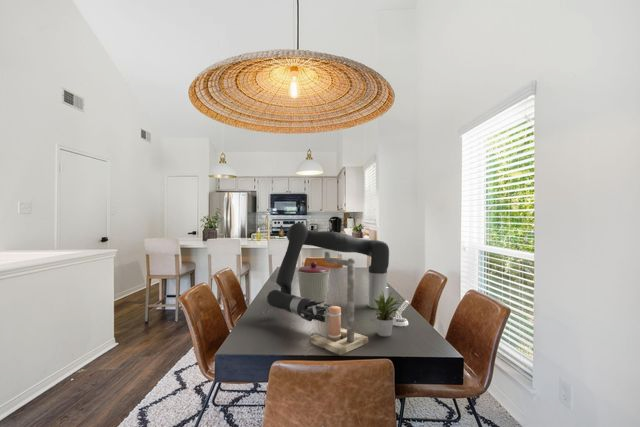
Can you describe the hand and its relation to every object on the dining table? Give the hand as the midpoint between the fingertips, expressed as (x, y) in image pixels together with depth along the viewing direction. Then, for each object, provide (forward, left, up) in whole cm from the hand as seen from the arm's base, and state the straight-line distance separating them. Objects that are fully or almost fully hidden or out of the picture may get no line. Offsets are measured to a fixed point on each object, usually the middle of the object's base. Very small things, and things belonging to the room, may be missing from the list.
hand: (332, 316), depth 115 cm
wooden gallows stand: (-1, +3, -9) cm, 9 cm away
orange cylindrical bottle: (0, +1, -8) cm, 9 cm away
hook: (-35, -2, -9) cm, 36 cm away
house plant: (-20, +6, -9) cm, 22 cm away
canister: (-19, -50, -9) cm, 54 cm away
